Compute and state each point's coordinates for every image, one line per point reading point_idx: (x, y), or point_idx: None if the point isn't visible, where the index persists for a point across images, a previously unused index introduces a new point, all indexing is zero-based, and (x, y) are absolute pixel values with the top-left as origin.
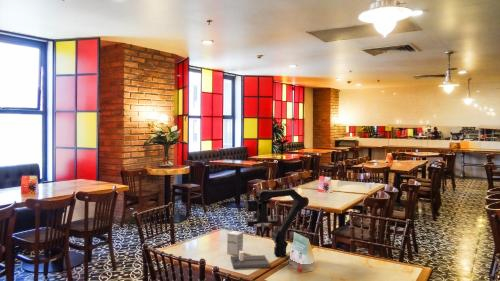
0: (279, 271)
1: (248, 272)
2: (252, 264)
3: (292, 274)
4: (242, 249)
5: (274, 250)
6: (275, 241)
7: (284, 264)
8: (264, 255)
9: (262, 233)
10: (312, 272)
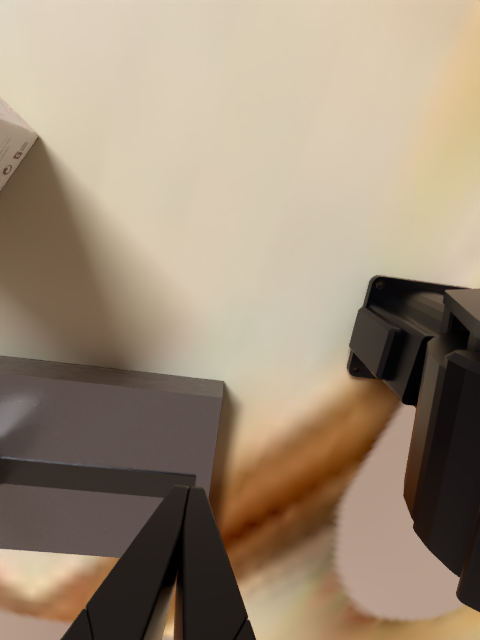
0: (243, 594)
1: (41, 576)
2: (66, 552)
3: (299, 635)
4: (15, 134)
5: (368, 335)
6: (403, 495)
7: (328, 513)
8: (221, 402)
9: (177, 606)
10: (424, 632)
